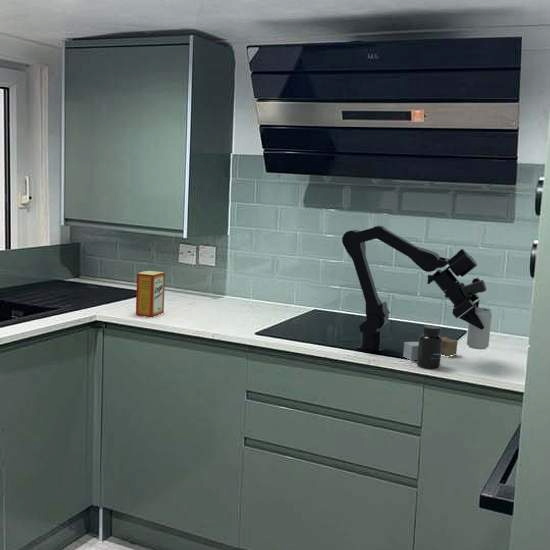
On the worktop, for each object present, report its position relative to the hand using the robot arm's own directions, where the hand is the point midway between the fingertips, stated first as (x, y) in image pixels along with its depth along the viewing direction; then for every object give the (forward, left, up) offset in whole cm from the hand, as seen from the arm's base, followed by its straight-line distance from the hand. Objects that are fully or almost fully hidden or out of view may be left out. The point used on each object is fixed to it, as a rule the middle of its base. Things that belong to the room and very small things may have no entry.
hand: (484, 326), depth 217 cm
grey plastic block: (-12, -16, -12) cm, 23 cm away
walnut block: (-14, -2, -12) cm, 19 cm away
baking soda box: (-95, -74, -12) cm, 121 cm away
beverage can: (-1, -1, -7) cm, 7 cm away
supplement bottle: (-4, -17, -12) cm, 21 cm away
